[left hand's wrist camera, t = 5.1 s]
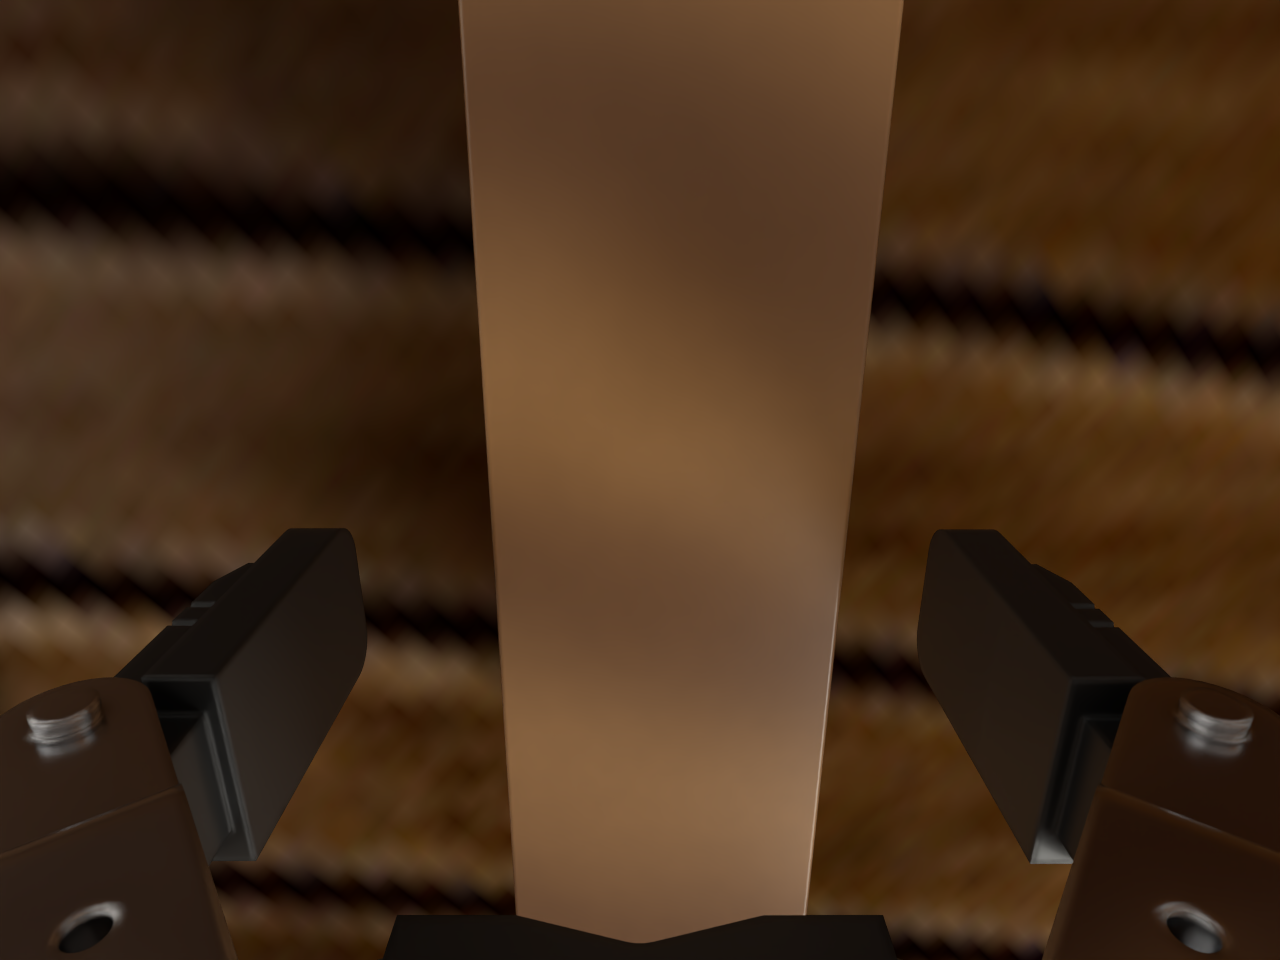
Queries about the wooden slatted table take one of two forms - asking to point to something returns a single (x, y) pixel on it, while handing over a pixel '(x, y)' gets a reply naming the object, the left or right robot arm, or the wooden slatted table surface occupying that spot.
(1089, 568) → the wooden slatted table surface
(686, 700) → the post
